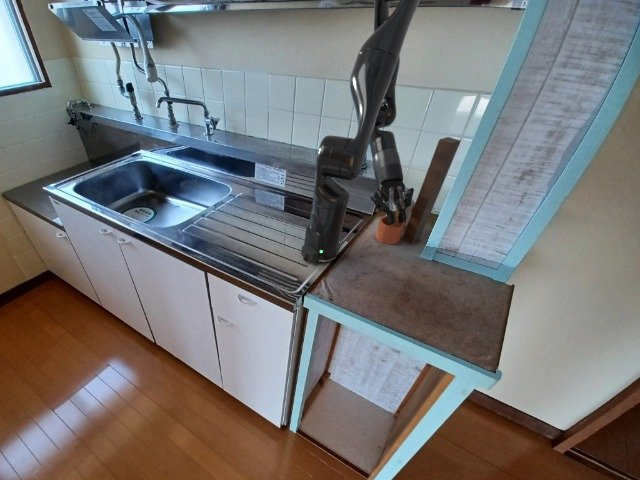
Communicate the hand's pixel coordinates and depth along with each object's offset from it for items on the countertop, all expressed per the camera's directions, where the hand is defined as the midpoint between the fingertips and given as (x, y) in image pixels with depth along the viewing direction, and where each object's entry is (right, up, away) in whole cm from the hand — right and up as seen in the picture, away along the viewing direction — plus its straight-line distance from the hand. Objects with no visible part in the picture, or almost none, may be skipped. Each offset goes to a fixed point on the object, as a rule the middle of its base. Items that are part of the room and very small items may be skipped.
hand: (397, 223), depth 98 cm
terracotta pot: (0, -3, +7) cm, 7 cm away
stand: (+7, -4, +6) cm, 10 cm away
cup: (+4, +2, +12) cm, 13 cm away
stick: (0, -3, +6) cm, 7 cm away
